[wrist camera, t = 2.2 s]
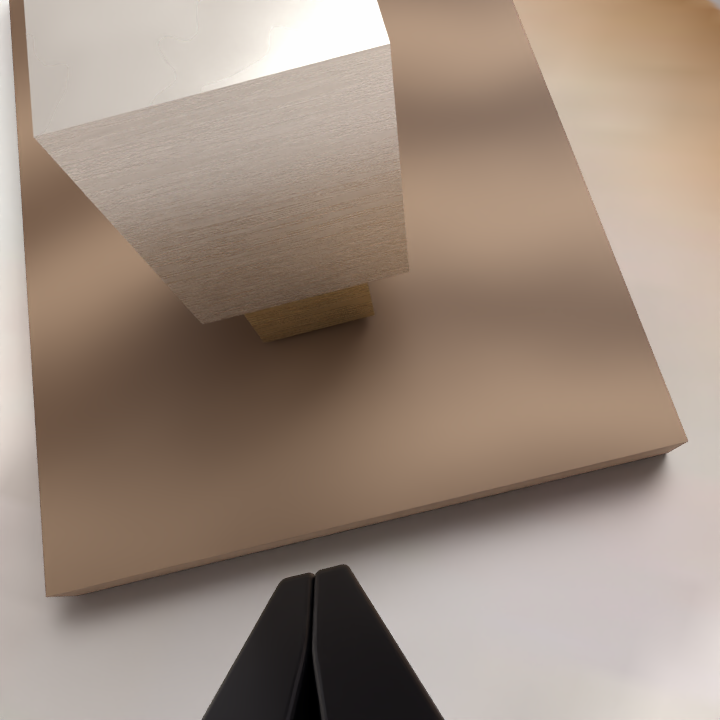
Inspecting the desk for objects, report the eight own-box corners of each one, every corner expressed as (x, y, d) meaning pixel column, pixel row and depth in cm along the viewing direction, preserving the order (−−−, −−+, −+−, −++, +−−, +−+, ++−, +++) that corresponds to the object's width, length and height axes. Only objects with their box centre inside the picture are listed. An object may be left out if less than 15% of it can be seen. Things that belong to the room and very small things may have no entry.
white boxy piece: (412, 306, 17) (389, 43, 9) (227, 352, 18) (33, 136, 9) (340, 43, 20) (272, -341, 12) (182, 84, 21) (4, -266, 12)
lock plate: (667, 452, 17) (757, 402, 13) (76, 595, 18) (-56, 600, 13) (445, -124, 25) (448, -295, 20) (30, -12, 25) (-66, -152, 20)
